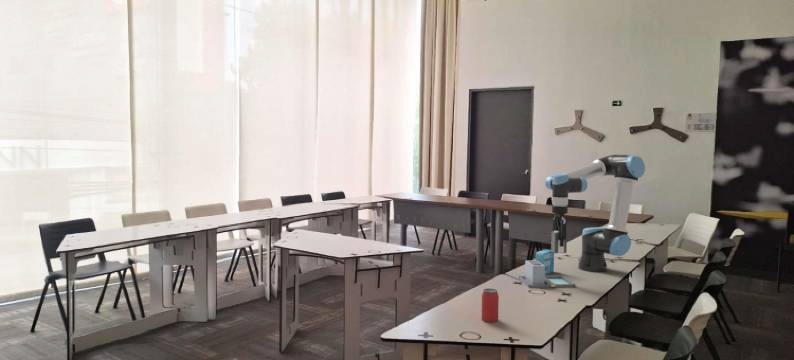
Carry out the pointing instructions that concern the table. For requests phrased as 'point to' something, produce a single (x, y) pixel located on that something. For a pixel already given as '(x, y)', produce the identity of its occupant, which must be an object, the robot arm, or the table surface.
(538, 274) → the block
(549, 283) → the grey flat panel
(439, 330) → the table surface
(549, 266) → the data package
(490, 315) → the beer can
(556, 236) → the plug
